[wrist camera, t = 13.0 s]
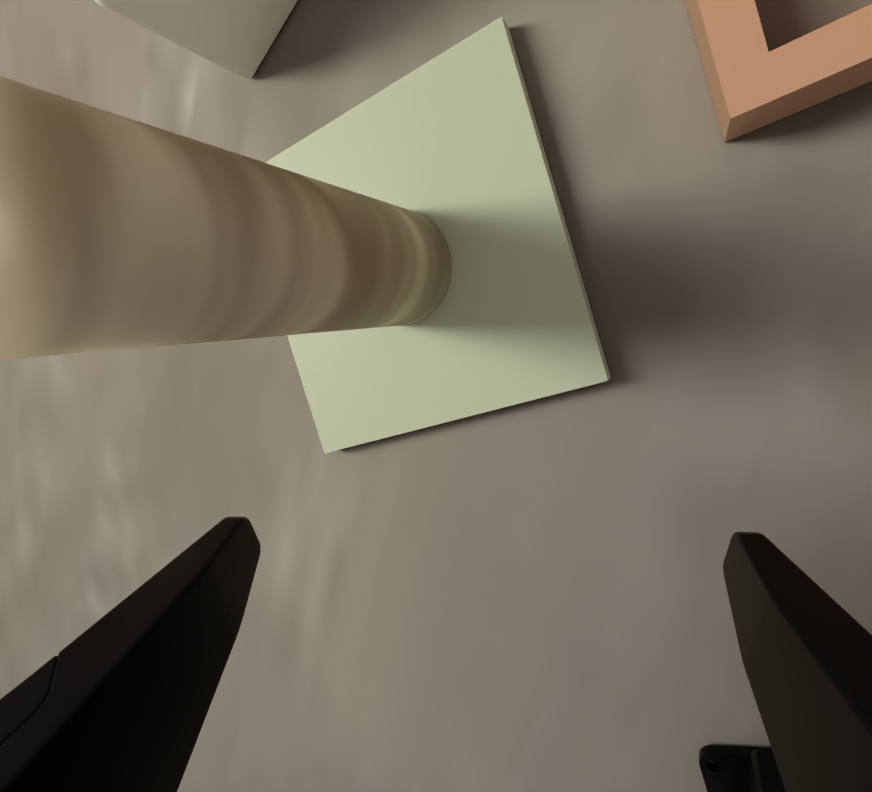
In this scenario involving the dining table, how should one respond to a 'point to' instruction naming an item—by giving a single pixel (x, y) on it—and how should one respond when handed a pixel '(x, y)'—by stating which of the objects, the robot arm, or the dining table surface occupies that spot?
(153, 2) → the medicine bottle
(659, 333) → the dining table surface
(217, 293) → the beige ribbed peg
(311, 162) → the sage board
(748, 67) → the terracotta socket
